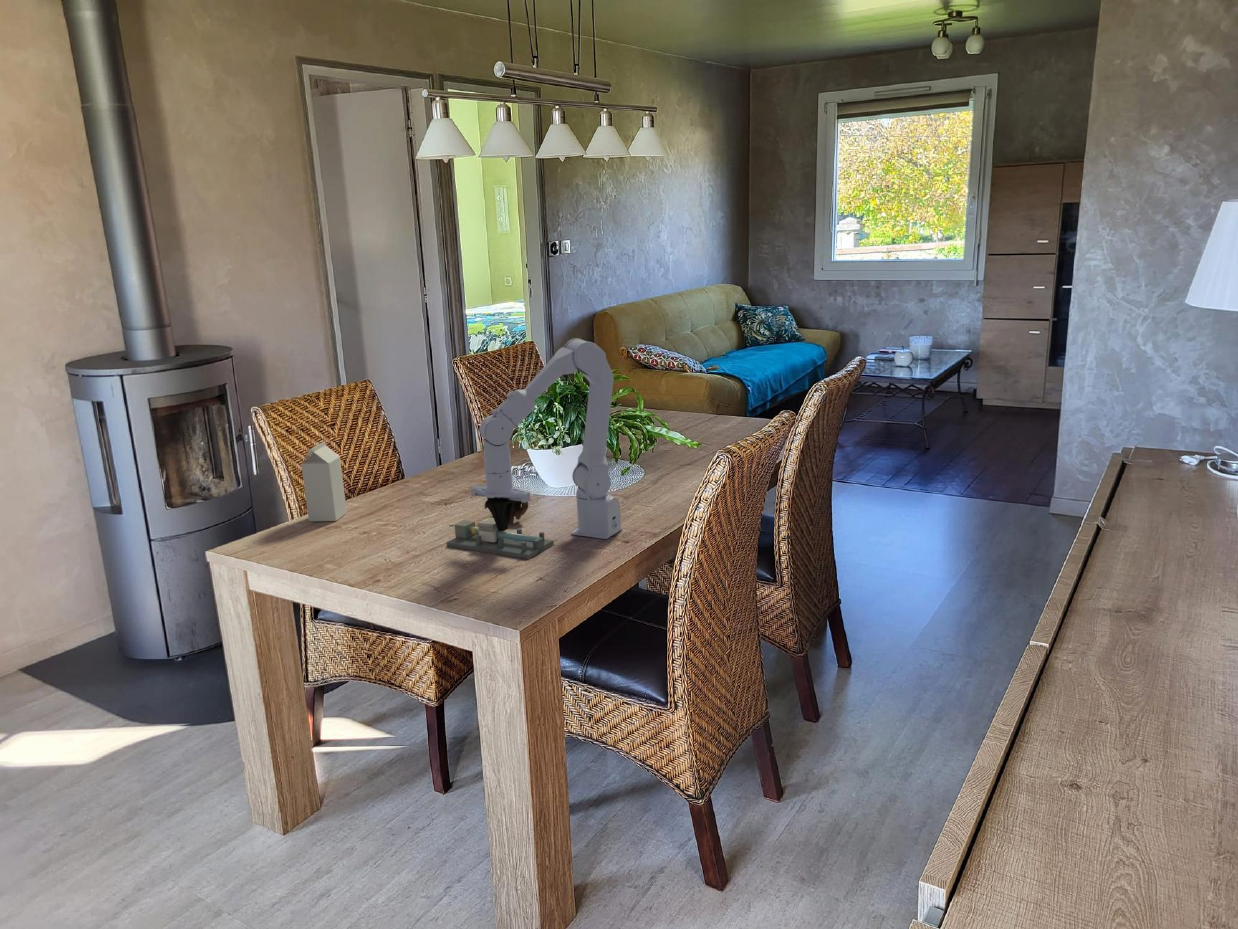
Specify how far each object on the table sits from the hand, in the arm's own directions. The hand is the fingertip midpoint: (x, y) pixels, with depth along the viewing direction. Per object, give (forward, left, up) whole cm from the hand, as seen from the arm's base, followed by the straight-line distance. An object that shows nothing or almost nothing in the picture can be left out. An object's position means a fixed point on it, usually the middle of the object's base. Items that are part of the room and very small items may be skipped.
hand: (502, 529), depth 203 cm
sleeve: (+3, 0, -2) cm, 4 cm away
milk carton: (+55, -1, -4) cm, 55 cm away
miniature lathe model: (+1, 0, -4) cm, 4 cm away
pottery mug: (+11, -16, -4) cm, 20 cm away
